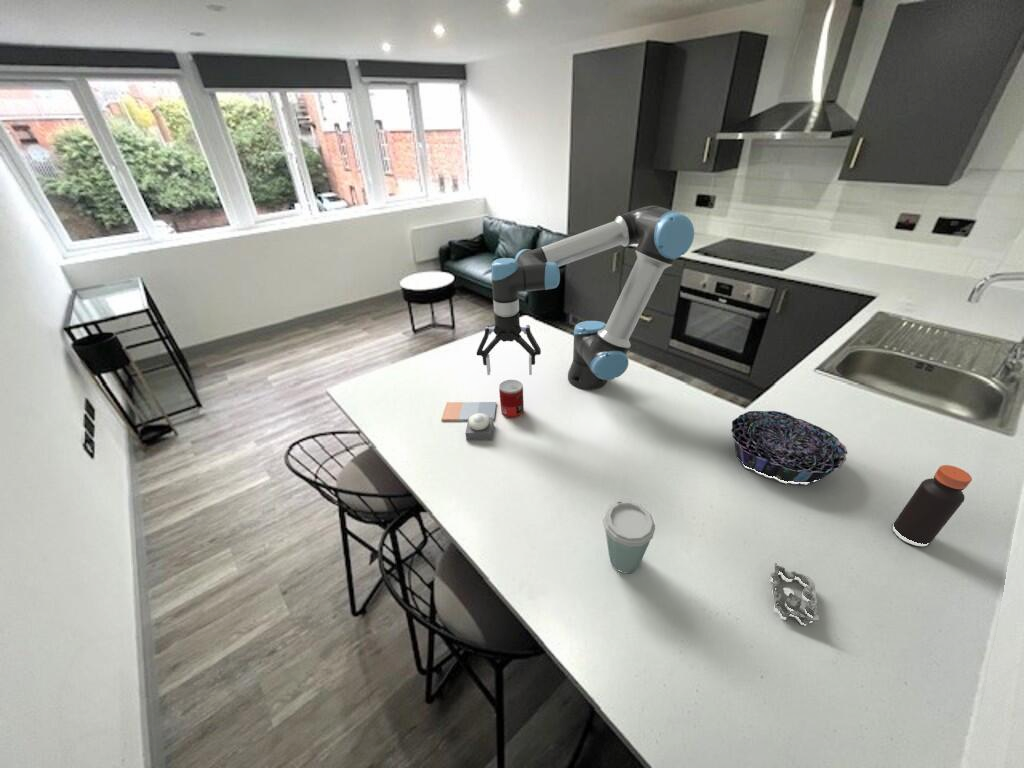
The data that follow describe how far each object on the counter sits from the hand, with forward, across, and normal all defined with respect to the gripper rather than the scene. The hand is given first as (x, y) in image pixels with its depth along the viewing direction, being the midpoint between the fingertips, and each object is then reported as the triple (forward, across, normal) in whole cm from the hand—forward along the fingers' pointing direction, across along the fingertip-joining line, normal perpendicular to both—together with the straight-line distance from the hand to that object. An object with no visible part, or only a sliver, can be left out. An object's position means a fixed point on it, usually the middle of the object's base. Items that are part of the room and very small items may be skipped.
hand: (509, 373), depth 135 cm
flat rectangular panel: (+16, +15, 0) cm, 22 cm away
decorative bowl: (+16, -78, +24) cm, 83 cm away
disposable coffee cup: (+16, -28, +57) cm, 66 cm away
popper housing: (+16, +10, +11) cm, 22 cm away
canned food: (+16, 0, 0) cm, 16 cm away
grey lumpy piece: (+16, -61, +65) cm, 90 cm away
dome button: (+15, +10, +11) cm, 21 cm away
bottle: (+16, -95, +49) cm, 108 cm away
